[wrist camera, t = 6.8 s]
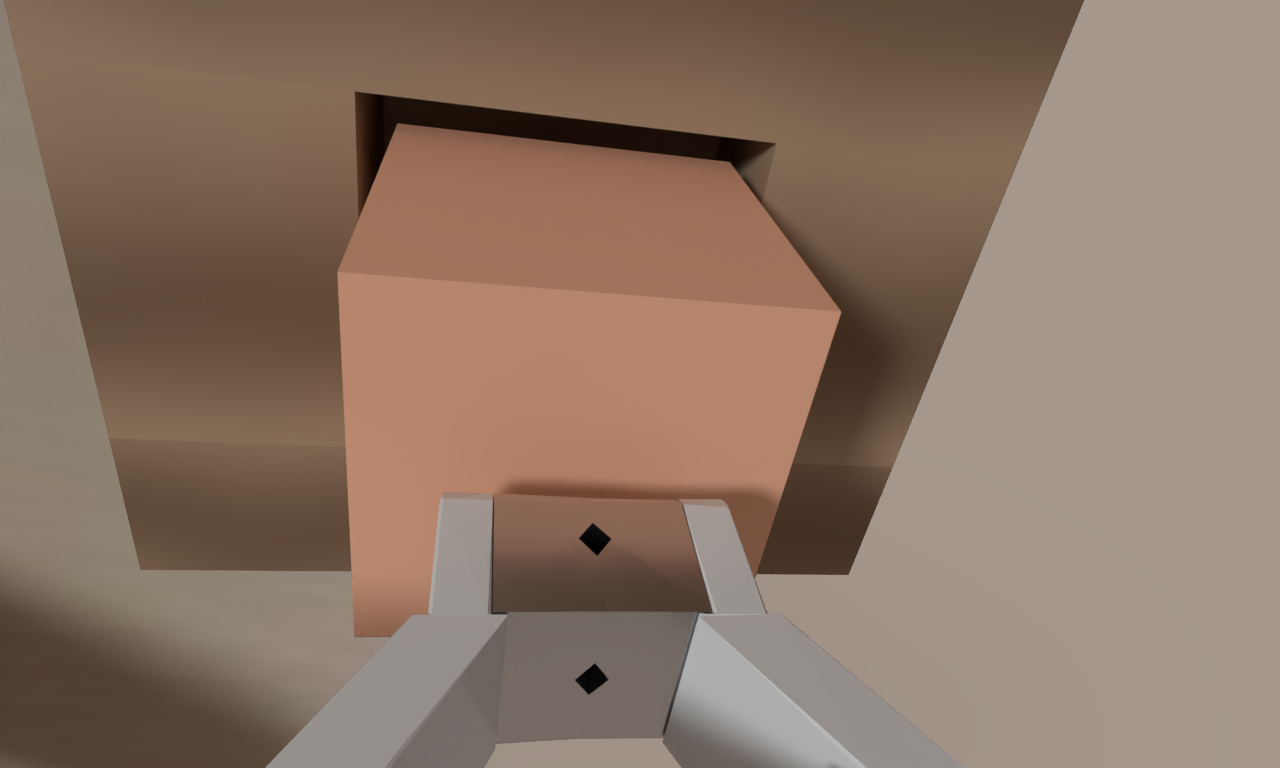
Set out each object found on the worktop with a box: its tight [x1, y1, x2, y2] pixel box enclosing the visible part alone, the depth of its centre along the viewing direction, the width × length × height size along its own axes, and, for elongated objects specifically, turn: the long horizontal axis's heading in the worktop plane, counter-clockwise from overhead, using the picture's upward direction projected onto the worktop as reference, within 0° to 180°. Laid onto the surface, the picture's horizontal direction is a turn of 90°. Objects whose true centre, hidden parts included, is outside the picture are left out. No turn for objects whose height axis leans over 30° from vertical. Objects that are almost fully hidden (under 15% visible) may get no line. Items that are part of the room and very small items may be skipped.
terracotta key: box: [337, 123, 841, 637], centre depth 11 cm, size 5×5×5 cm
